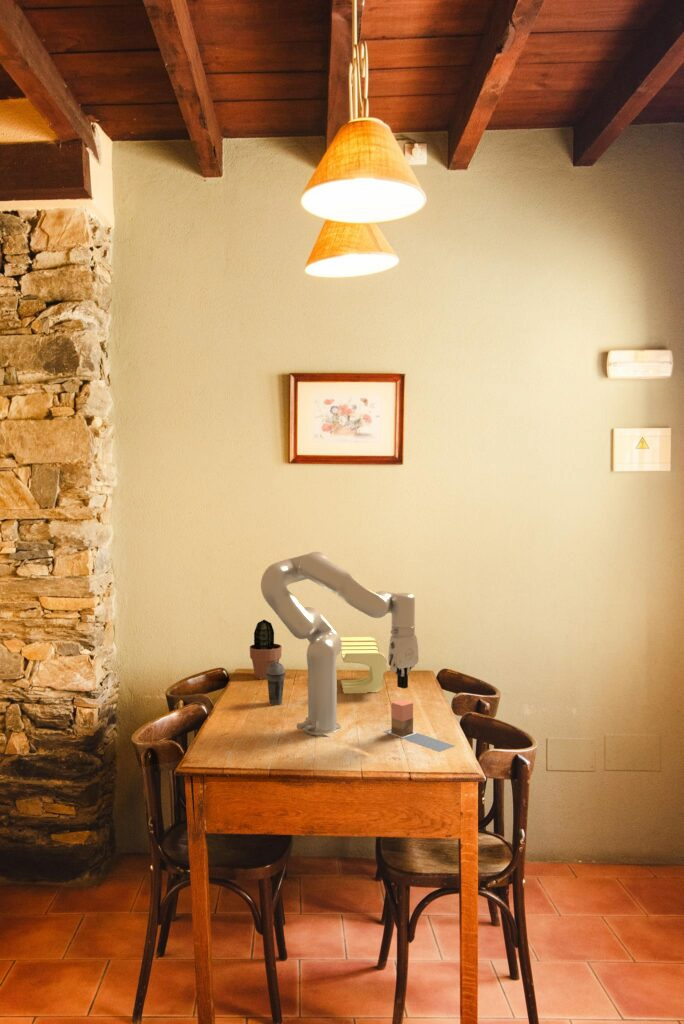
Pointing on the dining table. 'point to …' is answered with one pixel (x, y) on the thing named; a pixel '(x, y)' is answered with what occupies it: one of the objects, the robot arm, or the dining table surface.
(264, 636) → the potted plant
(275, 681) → the beverage cup
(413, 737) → the blueprint mat
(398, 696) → the dining table surface
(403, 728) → the walnut block
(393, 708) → the red block
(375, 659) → the slatted curved stool
